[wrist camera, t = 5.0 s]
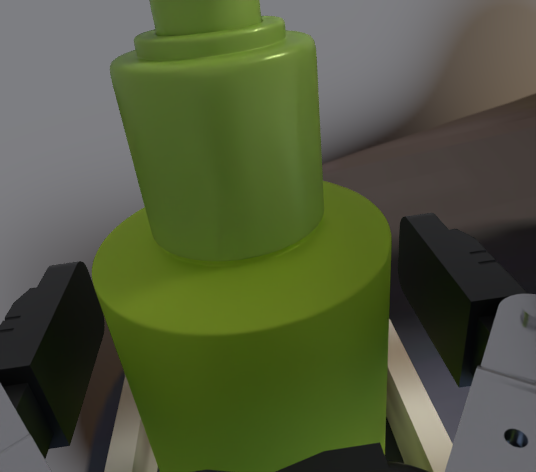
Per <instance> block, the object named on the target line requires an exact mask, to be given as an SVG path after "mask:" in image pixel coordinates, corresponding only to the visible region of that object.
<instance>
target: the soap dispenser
mask: <svg viewBox="0 0 536 472" xmlns="http://www.w3.org/2000/svg"><path fill="white" fill-rule="evenodd" d="M150 5H151V10H152V15H153V20H154V25H155V29H154V30H151V31H147V32H144V33H141V34H139V35H137V36H136V37H135V39H134V45H135V49H136V50H133V51H131V52H128V53H125V54H123V55H121V56H119V57H117V58H116V59H115V60H113V61H112V63H111V65H110V74H111V79H112V83H113V88H114V91H115V95H116V99H117V103H118V106H119V110H120V114H121V118H122V122H123V126H124V129H125V133H126V137H127V141H128V145H129V148H130V152H131V156H132V160H133V163H134V167H135V171H136V175H137V178H138V183H139V187H140V190H141V194H142V198H143V202H144V205H145V207H144V208H143V209H141V210H139V211H138V212H136V213H135V214H133V215H131V216H130V217H129V218H127V219H126V220H125V221H123V222H122V223H121V224H120V225H119V226H117V227H116V228H115V229H114V230H113V231H112V232H111V233H110V234H109V235H108V236H107V238H106V239H105V240H104V241H103V243H102V244H101V246H100V247H99V250H98V251H97V253H96V256H95V258H94V261H93V266H92V281H93V285H94V289H95V292H96V294H97V297H98V300H99V303H100V306H101V308H102V311H103V314H104V317H105V319H106V322H107V325H108V328H109V331H110V334H111V336H112V339H113V342H114V344H115V347H116V350H117V353H118V356H119V359H120V361H121V364H122V367H123V370H124V373H125V375H126V378H127V381H128V384H129V387H130V389H131V392H132V395H133V398H134V401H135V403H136V406H137V409H138V412H139V415H140V417H141V420H142V423H143V426H144V429H145V431H146V434H147V437H148V440H149V443H150V445H151V448H152V451H153V454H154V457H155V459H156V462H157V465H158V468H159V471H160V472H194V471H200V470H206V469H207V470H218V471H229V472H276V471H278V470H280V469H283V468H285V467H287V466H290V465H292V464H295V463H297V462H299V461H302V460H304V459H307V458H309V457H311V456H314V455H316V454H318V453H321V452H323V451H328V450H334V449H341V448H347V447H354V446H360V445H366V444H373V443H379V442H380V444H381V447H382V449H383V452H384V455H385V430H386V399H387V368H388V337H389V306H390V275H391V244H392V241H391V231H390V227H389V224H388V222H387V220H386V218H385V216H384V215H383V214H382V212H381V211H380V210H379V209H378V208H377V207H376V206H375V205H374V204H373V203H372V202H371V201H369V200H368V199H366V198H365V197H363V196H362V195H360V194H358V193H356V192H354V191H352V190H350V189H347V188H345V187H342V186H339V185H336V184H333V183H329V182H325V181H323V176H322V158H321V157H322V156H321V137H320V116H319V97H318V77H317V76H318V75H317V57H316V47H315V42H314V40H313V38H312V37H311V36H310V35H308V34H305V33H302V32H297V31H286V30H285V22H284V20H283V19H282V18H280V17H275V16H261V12H260V3H259V0H150Z"/></svg>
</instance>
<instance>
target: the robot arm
mask: <svg viewBox="0 0 536 472" xmlns="http://www.w3.org/2000/svg"><path fill="white" fill-rule="evenodd" d="M398 274H399V280H400V284H401V288H402V290H403V292H404V294H405V296H406V297H407V299H408V301H409V303H410V304H411V306H412V308H413V309H414V311H415V313H416V315H417V316H418V318H419V320H420V321H421V323H422V325H423V327H424V328H425V330H426V332H427V333H428V335H429V337H430V339H431V340H432V342H433V344H434V345H435V347H436V349H437V351H438V352H439V354H440V356H441V357H442V359H443V361H444V363H445V364H446V366H447V368H448V369H449V371H450V373H451V375H452V376H453V378H454V380H455V382H456V383H457V385H458V387H466V386H471V387H470V391H469V394H468V397H467V400H466V404H465V407H464V410H463V413H462V417H461V420H460V423H459V427H458V430H457V433H456V436H455V440H454V443H453V446H452V449H451V453H450V456H449V459H448V462H447V466H446V469H445V472H536V294H528V293H527V292H526V291H525V290H524V289H523V288H522V287H521V286H520V285H519V284H518V283H517V282H516V281H515V279H514V278H513V277H512V276H511V275H510V274H509V273H508V272H507V271H506V270H505V269H504V268H503V267H502V266H501V265H500V264H499V263H498V262H496V261H495V259H494V258H493V257H492V256H491V255H490V254H489V253H488V252H486V249H485V248H484V247H483V246H482V245H481V244H480V243H479V242H478V241H477V240H476V239H475V238H474V237H472V236H470V235H468V234H466V233H464V232H462V231H460V230H458V229H452V230H449V229H448V228H447V227H446V226H445V225H444V224H443V223H442V222H441V221H440V219H439V218H438V217H437V216H436V215H435V214H434V213H427V214H420V215H413V216H406V217H403V218H402V219H401V222H400V234H399V258H398ZM103 334H104V316H103V311H102V308H101V306H100V303H99V300H98V297H97V294H96V292H95V289H94V286H93V283H92V280H91V277H90V275H89V272H88V269H87V267H86V265H85V264H84V263H83V262H81V261H80V262H73V263H66V264H58V265H52V266H49V267H48V269H47V271H46V272H45V274H44V276H43V278H42V279H41V281H40V283H39V285H38V287H37V288H30V289H29V290H28V291H27V292H26V293H24V294H23V295H22V296H21V297H20V298H19V299H18V300H16V301H15V302H14V303H13V305H12V307H11V309H10V310H9V312H8V313H7V315H6V317H5V321H3V322H2V324H1V325H0V472H52V471H51V469H50V468H49V466H48V464H47V463H46V461H45V458H46V455H47V452H48V449H50V448H57V447H64V446H70V443H71V440H72V436H73V433H74V430H75V427H76V423H77V420H78V417H79V414H80V410H81V407H82V404H83V400H84V397H85V394H86V390H87V387H88V384H89V380H90V377H91V374H92V371H93V367H94V364H95V361H96V357H97V354H98V351H99V348H100V344H101V341H102V338H103ZM194 472H229V471H218V470H207V469H206V470H200V471H194ZM276 472H429V471H426V470H424V469H421V468H418V467H415V466H412V465H408V464H404V463H399V462H393V461H386V458H385V455H384V452H383V449H382V447H381V444H380V442H379V443H373V444H366V445H360V446H354V447H347V448H341V449H334V450H328V451H323V452H321V453H318V454H316V455H314V456H311V457H309V458H307V459H304V460H302V461H299V462H297V463H295V464H292V465H290V466H287V467H285V468H283V469H280V470H278V471H276Z"/></svg>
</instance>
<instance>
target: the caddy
mask: <svg viewBox="0 0 536 472" xmlns="http://www.w3.org/2000/svg"><path fill="white" fill-rule="evenodd" d="M386 417H387V419H388V422H389V424H390V427H391V430H392V432H393V435H394V437H395V440H396V443H397V445H398V448H399V450H400V453H401V456H402V458H403V461H404V463H405V464H408V465H412V466H415V467H418V468H421V469H424V470H426V471H429V472H445V469H446V466H447V462H448V459H449V456H450V453H451V449H452V446H453V444H452V442H451V440H450V438H449V436H448V434H447V432H446V430H445V428H444V426H443V424H442V422H441V420H440V418H439V416H438V414H437V412H436V410H435V408H434V406H433V404H432V402H431V400H430V398H429V396H428V394H427V392H426V390H425V388H424V386H423V384H422V382H421V380H420V378H419V376H418V374H417V372H416V370H415V368H414V366H413V364H412V362H411V360H410V358H409V356H408V354H407V353H406V351H405V349H404V347H403V345H402V343H401V341H400V339H399V337H398V335H397V333H396V331H395V329H394V327H393V325H392V323H391V321H390V319H389V337H388V368H387V399H386ZM157 469H158V465H157V462H156V459H155V457H154V454H153V451H152V448H151V445H150V443H149V440H148V437H147V434H146V431H145V429H144V426H143V423H142V420H141V417H140V415H139V412H138V409H137V406H136V403H135V401H134V398H133V395H132V392H131V389H130V387H129V384H128V381H127V378H126V375H125V379H124V384H123V388H122V393H121V397H120V402H119V406H118V411H117V415H116V420H115V425H114V429H113V434H112V438H111V443H110V447H109V452H108V456H107V461H106V465H105V470H104V472H157Z"/></svg>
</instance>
